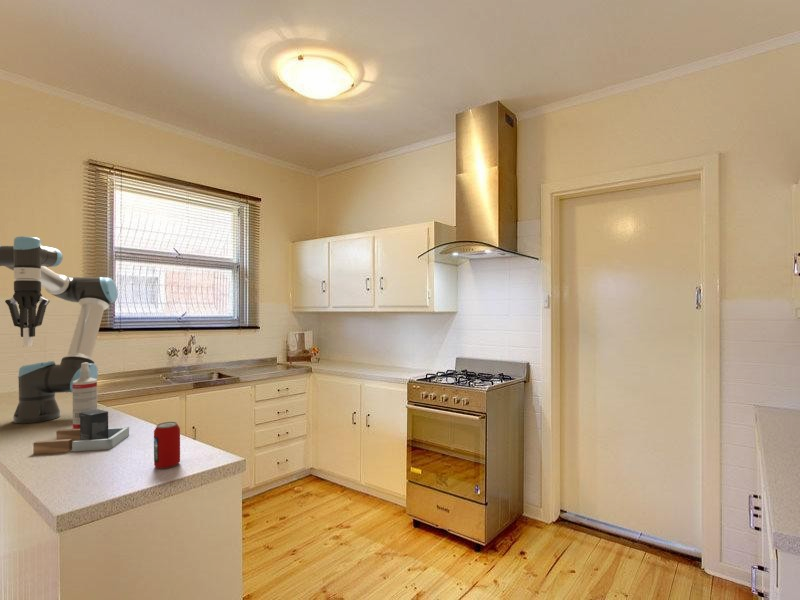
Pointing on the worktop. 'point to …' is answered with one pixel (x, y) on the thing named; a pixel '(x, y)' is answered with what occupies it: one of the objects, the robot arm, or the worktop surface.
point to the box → (93, 425)
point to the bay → (103, 440)
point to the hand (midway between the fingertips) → (28, 346)
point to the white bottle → (83, 394)
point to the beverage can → (166, 445)
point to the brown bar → (57, 442)
